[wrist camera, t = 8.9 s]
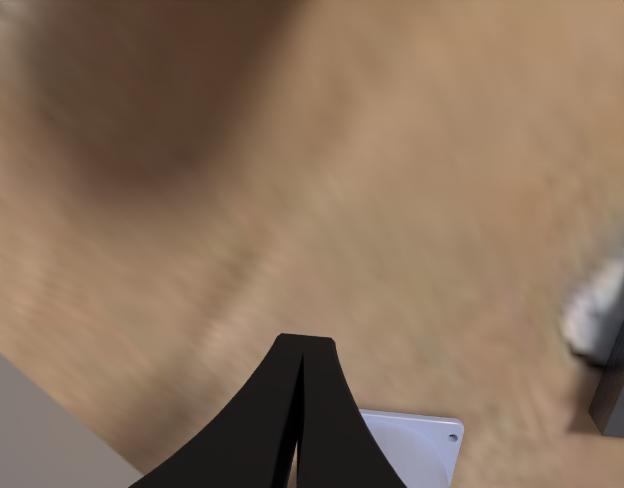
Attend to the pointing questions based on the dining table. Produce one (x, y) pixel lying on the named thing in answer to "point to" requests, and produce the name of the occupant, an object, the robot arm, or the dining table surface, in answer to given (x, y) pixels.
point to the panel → (611, 394)
